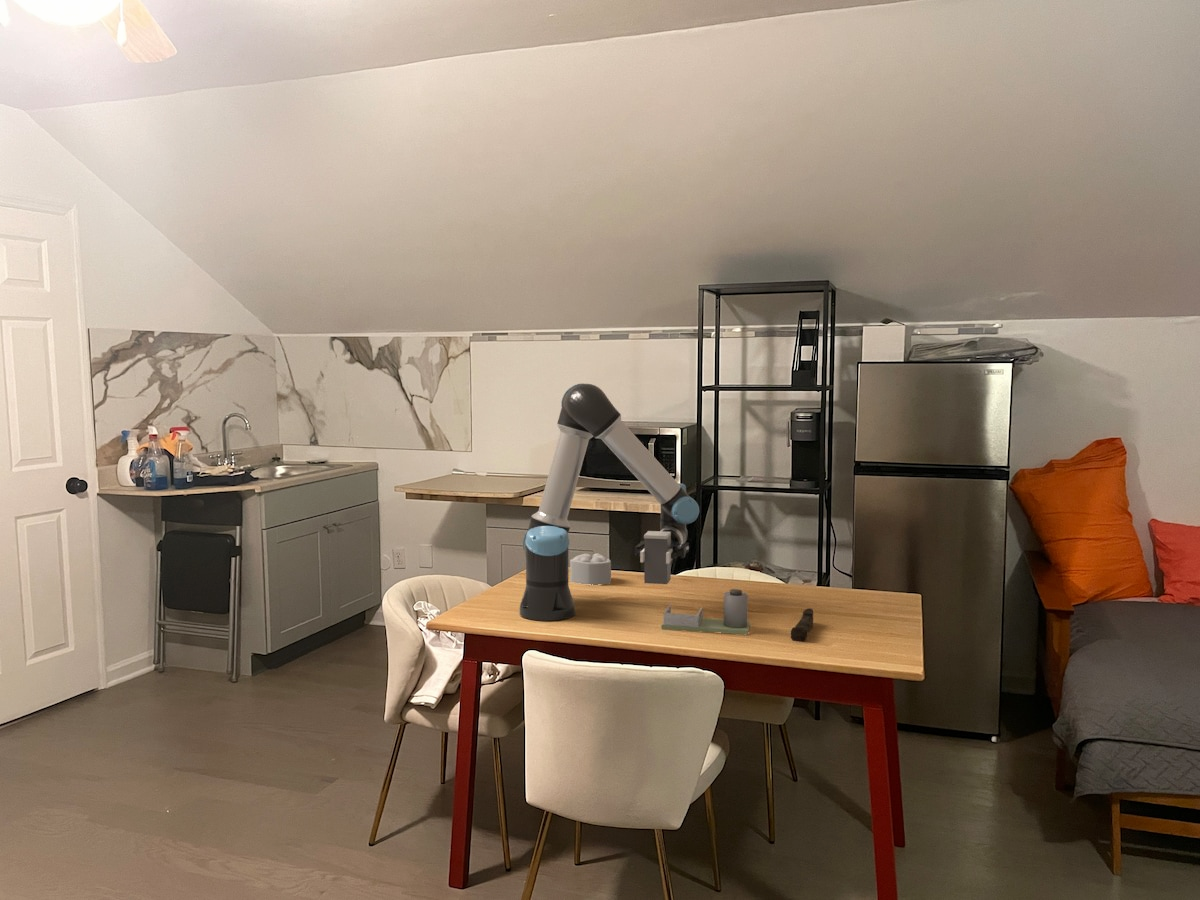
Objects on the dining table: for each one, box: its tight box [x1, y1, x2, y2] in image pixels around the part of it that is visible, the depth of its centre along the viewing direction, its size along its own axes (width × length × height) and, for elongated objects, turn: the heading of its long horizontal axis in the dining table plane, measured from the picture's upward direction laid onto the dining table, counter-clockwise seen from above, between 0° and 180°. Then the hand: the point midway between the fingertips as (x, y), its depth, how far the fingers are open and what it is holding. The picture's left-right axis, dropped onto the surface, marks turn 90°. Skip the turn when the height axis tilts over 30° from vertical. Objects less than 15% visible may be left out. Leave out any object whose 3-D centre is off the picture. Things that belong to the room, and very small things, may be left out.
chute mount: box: [663, 604, 704, 627], centre depth 226 cm, size 9×8×3 cm
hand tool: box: [790, 607, 814, 643], centre depth 221 cm, size 19×4×5 cm, turn 155°
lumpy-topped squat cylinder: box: [569, 553, 612, 585], centre depth 278 cm, size 10×13×9 cm
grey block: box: [643, 530, 672, 585], centre depth 227 cm, size 6×7×13 cm
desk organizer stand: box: [661, 588, 751, 636], centre depth 225 cm, size 22×9×10 cm, turn 76°
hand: (654, 557), depth 223 cm, fingers closed on grey block, 6 cm apart
